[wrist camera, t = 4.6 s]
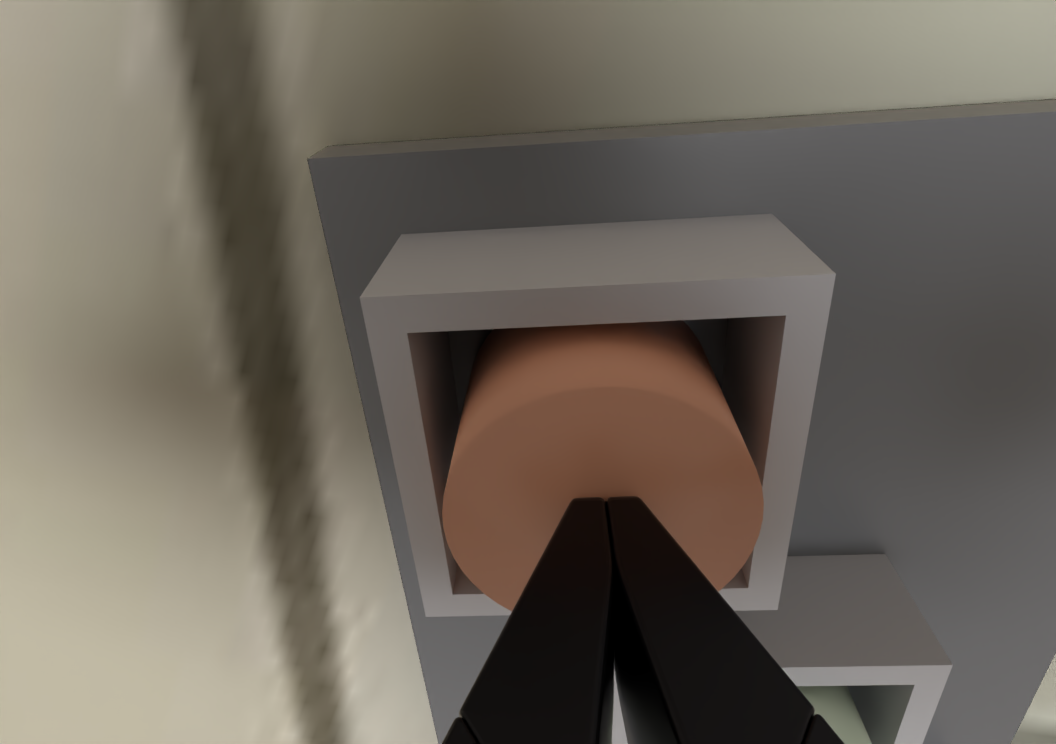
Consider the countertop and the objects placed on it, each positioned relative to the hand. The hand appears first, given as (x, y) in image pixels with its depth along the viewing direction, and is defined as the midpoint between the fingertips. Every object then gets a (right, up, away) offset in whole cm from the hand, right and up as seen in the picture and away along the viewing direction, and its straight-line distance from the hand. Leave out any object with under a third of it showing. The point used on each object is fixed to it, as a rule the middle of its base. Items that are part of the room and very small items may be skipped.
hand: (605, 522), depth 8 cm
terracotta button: (0, +1, +3) cm, 3 cm away
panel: (+4, -4, +7) cm, 9 cm away
